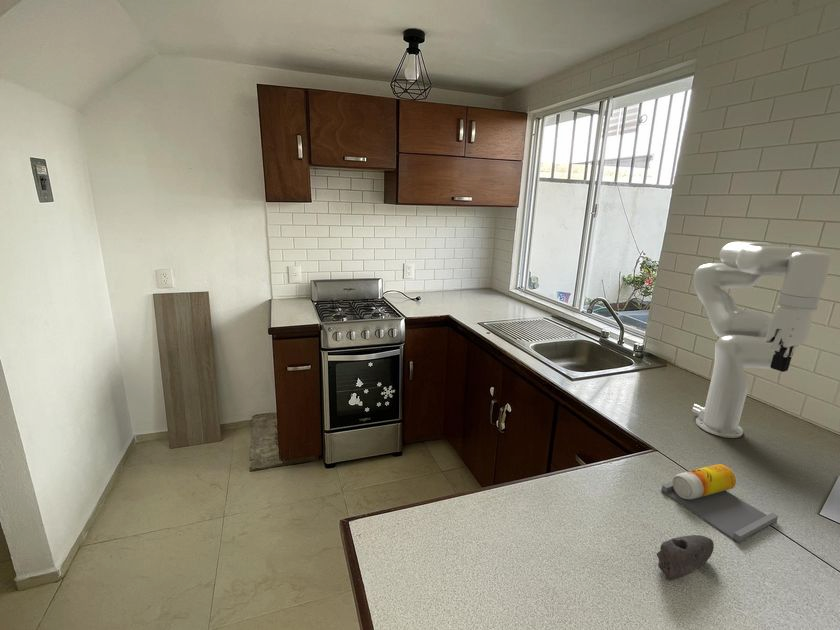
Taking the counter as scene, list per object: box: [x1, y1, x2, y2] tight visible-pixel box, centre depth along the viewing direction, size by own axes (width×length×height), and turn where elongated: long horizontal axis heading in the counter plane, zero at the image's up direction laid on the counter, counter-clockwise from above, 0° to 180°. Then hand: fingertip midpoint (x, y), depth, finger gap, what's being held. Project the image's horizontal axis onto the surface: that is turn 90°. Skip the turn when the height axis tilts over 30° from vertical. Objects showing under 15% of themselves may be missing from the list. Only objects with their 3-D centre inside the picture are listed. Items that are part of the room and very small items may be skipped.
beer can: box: [671, 463, 737, 500], centre depth 105 cm, size 6×6×15 cm
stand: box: [660, 481, 779, 544], centre depth 101 cm, size 18×15×2 cm
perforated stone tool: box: [656, 534, 715, 581], centre depth 83 cm, size 15×5×7 cm, turn 111°
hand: (778, 369), depth 109 cm, fingers closed
